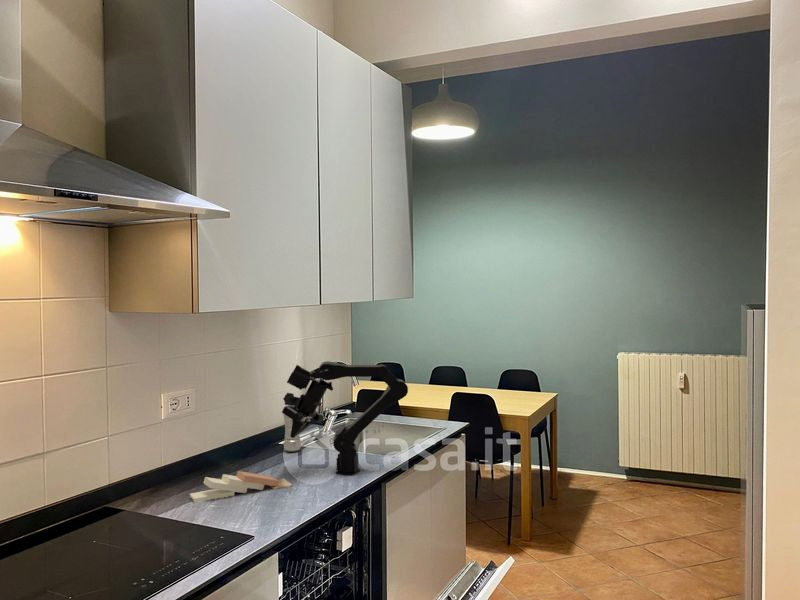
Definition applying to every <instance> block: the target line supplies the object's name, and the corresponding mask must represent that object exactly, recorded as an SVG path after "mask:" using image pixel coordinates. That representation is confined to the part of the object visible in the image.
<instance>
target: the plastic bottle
mask: <svg viewBox="0 0 800 600" xmlns="http://www.w3.org/2000/svg"><path fill="white" fill-rule="evenodd" d="M286 406H292V405H286ZM293 407H294V406H293ZM297 410H298V409H297ZM283 420H284V440H283V441H284V442H283V448H284V450H285V452H288V453H289V452H290V453H292V452H298V451H299V450H300V449H301V447H302V441H301V438H300V435H301V434H300V433H299V434H298V435H297V436H296V437H294V438H292V437H290V435H291V429H292V423H293V420H292V419H291V418H289V417H288V416H286V415H285V414H283Z"/></svg>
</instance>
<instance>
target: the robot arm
mask: <svg viewBox="0 0 800 600" xmlns="http://www.w3.org/2000/svg"><path fill="white" fill-rule="evenodd" d="M348 377H349V378H351V377H353V378H354V377H355V378H357V377H358V378H359V377H362V378H364V377H366V378H367V377H368V378H369V377H370V378H371V377H373V378H374V377H375V378H377V377H379V378H381V380H382V381H383V382H384V383H385V384H386V385H387V386H386V389H385V390H384V392H383V393H382V395H381V396H380V397H379V398H378V399H377V400H376V401H374V402H373V403H372V404H371V406H370V407H368V408H367V409H366V410H365V411H364V412H363V413H361V415H360V416H359V417H358V418H356V419H355V420H354V421H353V422H352V423H350V424H349V425H348V426H346V425H345V423H343V424H342V425H341V427H340V428H339V429H336V430H335V432H334V433H335V434H334V435H333V440H332V441H333V442H332V443H333V448H334V449H335V451H337V452H338V454H337V457H336V471H335V474H340V475H346V476H347V475H348V476H354V475H355V474H357V473H358V472H359V471H361V468H359V453H358V451H357V449H358V448H357V445H356V444H355V441H356V440H357V438H358V436H359V435H360V434H361V433H362V432H363V431H364V430H365V429H366V428H367V427H368V426H369V425H370V424H371V423H372V422H373V421H374V420H376V419H377V418H378V417H379V416H380V415H381V414H382V413H383V412H385V410H387V408H389V407H390V406H391V405H393V404H395V403H398V402H399V401H400V400H402V399H403V398H404V397H406V396H407V394H408V393H409V387H408V385H407V384H406V382H405V381H404V380H403V379H400V378H397V377H396V376H395V375H394V374H393V373H392V372H391V371H390V370H389V369H388V368H387V366H386V365H385V364H370V365H369V364H363V365H362V364H343V363H338V362H335V361H329V360H326V361H323V362H321V364H319V366H318V367H316V368H314V369H313V370H310V371H309V370H308V369H305V368H303V367H302V366H300V365H298V364H296V366H295V367H294V369H293V371H292V372H291V373H290V376H289V377H288V379H287V381H286V383H287V384H289V385H291V386H293V387H294V388H297V389H298V390H300V391H302V390H304V389H306V392H305V394H304V393H303V394H300V396H299V397H297V396H295V395H294V393H290V392H286V394H285V395H284V397H283V401H284V405H285V406H284V407H283V408H282V411H281V413H282V414H283V415H284V414H285V415H286V416H288V417H289V418H291V419H292V420H293V423H292V429H291V435H290V437H292V438H294V437H296V436H297V435H298V434H299V435H300V434H301V433H302V432H303V431H305V430H306V429H307V428H309V427H310V426H312V425H313V424H314V423H313V422H311V419H313V420H315V421H316V423H317V424H322V423H323V421H324V415H323V414H322V413H320V412H318V411H317V409H318V408H319V407H321V406H322V404H323V403H322V402H321V401H322V399H323V397H324V395H325V393H326V392H327V390H329V391H331V392H332V391H333V390H334V387H333V383H332V381H333V380H337V379H342V378H348ZM318 379H319V380H318ZM331 380H332V381H331ZM328 381H329V382H328ZM309 384H310V385H309ZM287 405H292V406H287ZM293 406H294V407H293ZM297 409H298V410H297Z"/></svg>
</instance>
